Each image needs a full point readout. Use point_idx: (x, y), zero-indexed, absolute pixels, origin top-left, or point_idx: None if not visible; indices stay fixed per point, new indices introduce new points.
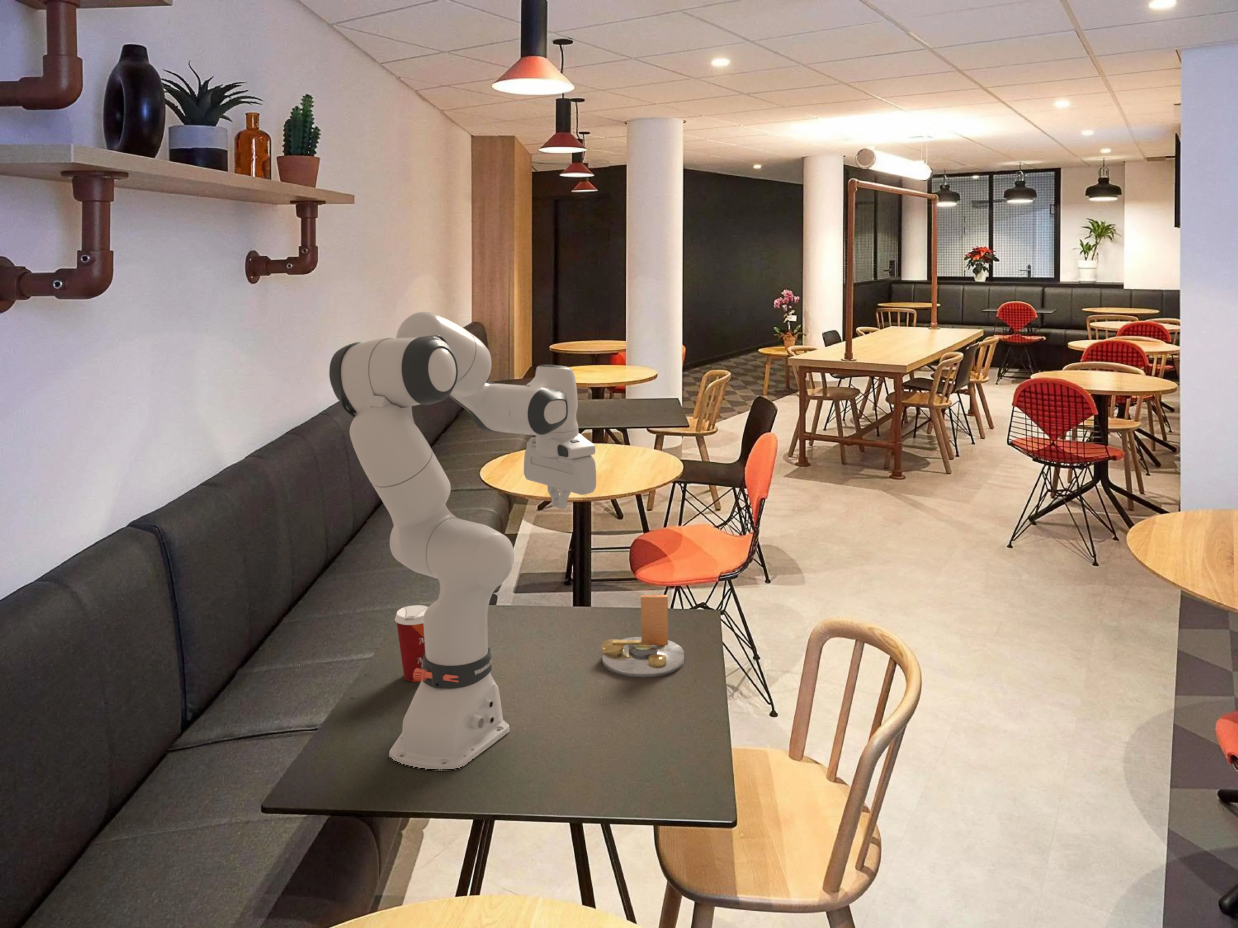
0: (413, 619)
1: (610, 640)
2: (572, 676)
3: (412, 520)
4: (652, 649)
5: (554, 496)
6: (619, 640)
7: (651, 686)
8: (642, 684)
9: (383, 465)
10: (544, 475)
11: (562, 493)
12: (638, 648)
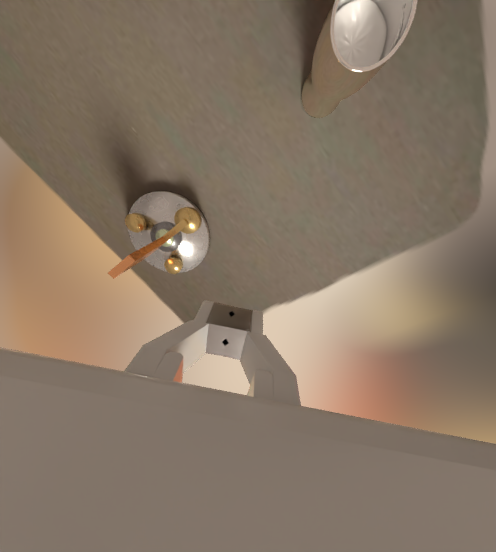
0: None
1: (194, 226)
2: (194, 153)
3: None
4: (153, 237)
5: (250, 349)
6: (182, 228)
7: (121, 187)
8: (130, 186)
9: None
10: (338, 543)
11: (141, 350)
12: (162, 230)
